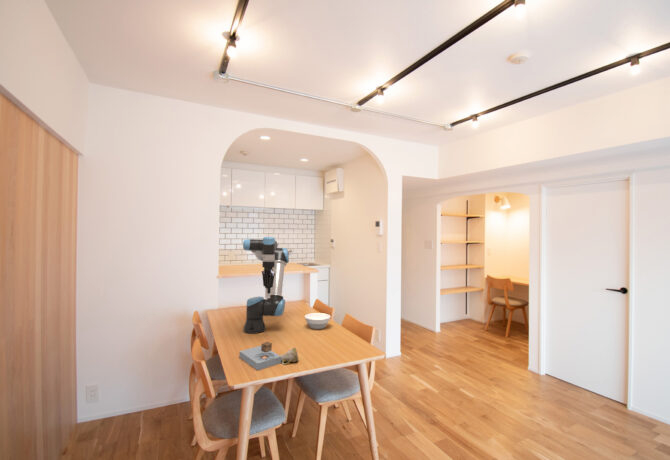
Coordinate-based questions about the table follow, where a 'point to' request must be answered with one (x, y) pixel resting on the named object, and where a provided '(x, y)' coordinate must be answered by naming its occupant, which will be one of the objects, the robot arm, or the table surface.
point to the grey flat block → (259, 358)
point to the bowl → (317, 320)
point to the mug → (289, 356)
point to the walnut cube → (266, 347)
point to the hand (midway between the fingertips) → (267, 298)
